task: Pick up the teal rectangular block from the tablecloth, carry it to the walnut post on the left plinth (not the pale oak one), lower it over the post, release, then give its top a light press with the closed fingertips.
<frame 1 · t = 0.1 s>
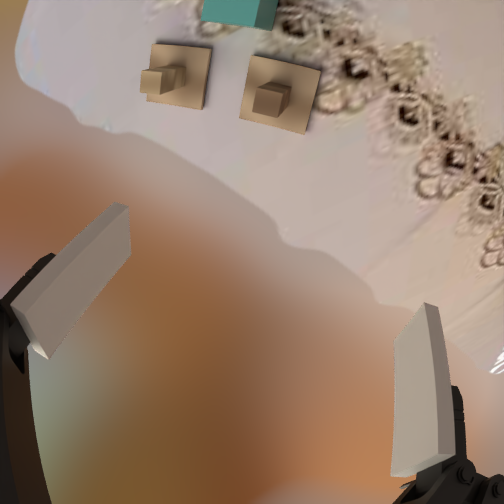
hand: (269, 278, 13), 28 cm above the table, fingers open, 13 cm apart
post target: (279, 93, 34), on the table
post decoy: (177, 75, 35), on the table
teal rectangular block: (253, 7, 28), on the table
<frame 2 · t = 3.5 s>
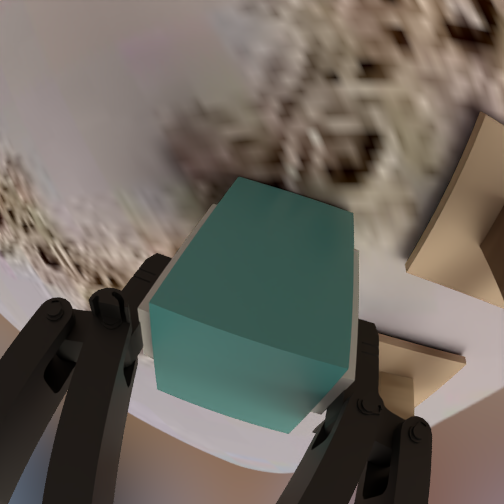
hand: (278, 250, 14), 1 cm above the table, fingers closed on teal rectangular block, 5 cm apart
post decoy: (387, 377, 19), on the table
teal rectangular block: (281, 241, 15), on the table, touching gripper
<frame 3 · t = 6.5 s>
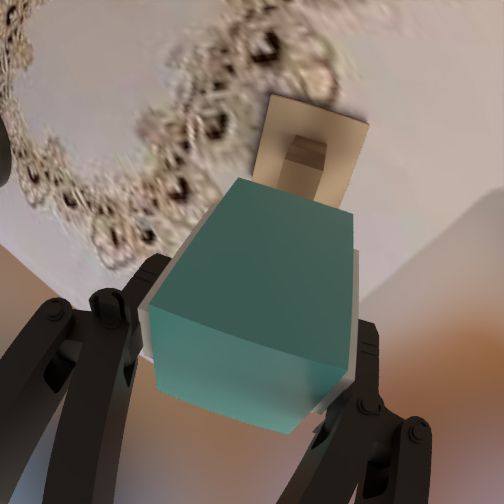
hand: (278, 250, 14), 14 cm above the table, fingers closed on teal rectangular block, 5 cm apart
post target: (308, 151, 25), on the table
teal rectangular block: (281, 242, 15), point 13 cm above the table, touching gripper
when the fingers open (3 cm above the table, at t = 9.6 s): teal rectangular block drops 1 cm, resting on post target.
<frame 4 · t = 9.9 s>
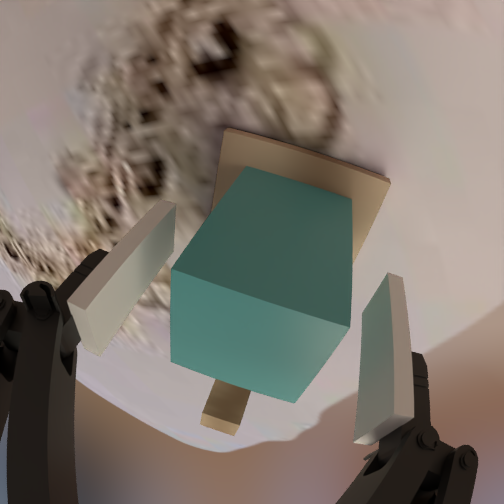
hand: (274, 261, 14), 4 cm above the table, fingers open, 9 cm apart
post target: (288, 219, 17), on the table
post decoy: (244, 353, 25), on the table
teal rectangular block: (285, 226, 16), point 1 cm above the table, touching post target
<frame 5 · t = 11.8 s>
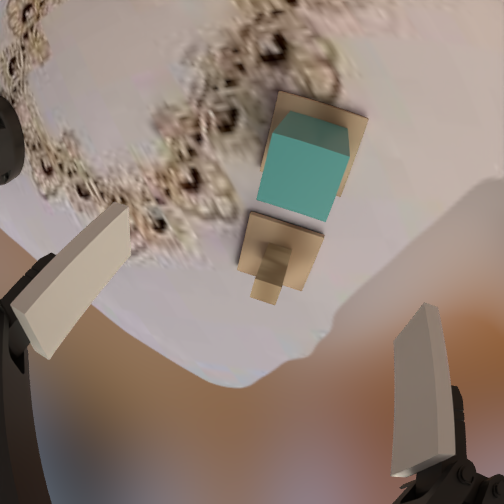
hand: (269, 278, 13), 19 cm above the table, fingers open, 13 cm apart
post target: (312, 143, 27), on the table
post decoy: (278, 252, 36), on the table
teal rectangular block: (311, 145, 27), point 1 cm above the table, touching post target
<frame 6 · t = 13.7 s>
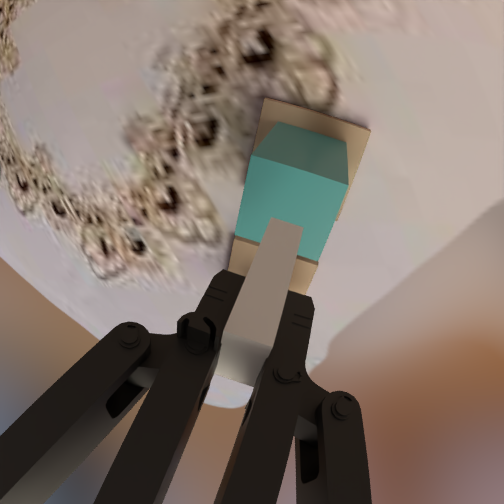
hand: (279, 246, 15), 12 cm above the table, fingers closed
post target: (304, 159, 24), on the table
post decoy: (267, 279, 32), on the table
teal rectangular block: (303, 162, 23), point 1 cm above the table, touching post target
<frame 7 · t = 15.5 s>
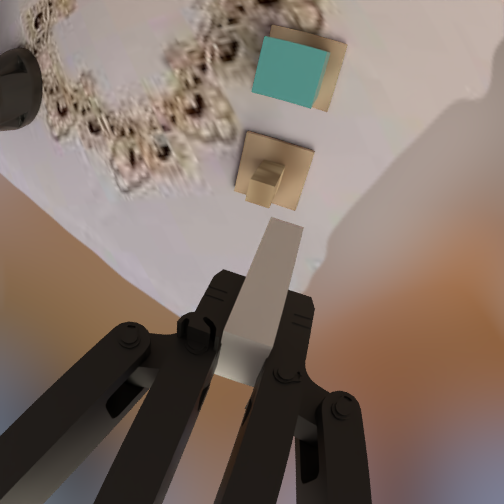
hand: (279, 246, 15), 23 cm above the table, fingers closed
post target: (301, 67, 29), on the table
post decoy: (273, 170, 37), on the table
teal rectangular block: (300, 67, 29), point 1 cm above the table, touching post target
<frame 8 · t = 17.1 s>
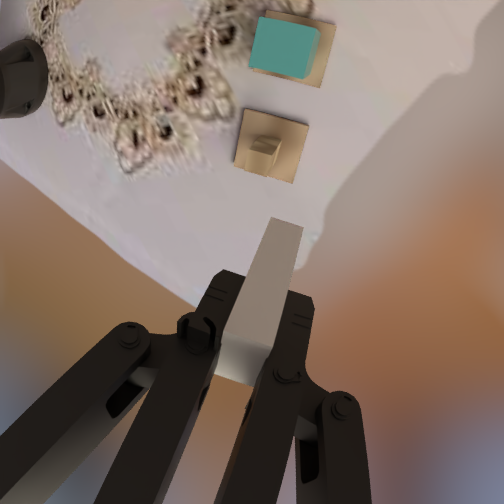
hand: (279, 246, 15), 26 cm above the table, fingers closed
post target: (294, 47, 31), on the table
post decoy: (270, 145, 39), on the table
teal rectangular block: (293, 47, 30), point 1 cm above the table, touching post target
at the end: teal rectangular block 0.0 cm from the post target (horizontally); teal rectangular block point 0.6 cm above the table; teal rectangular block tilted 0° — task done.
